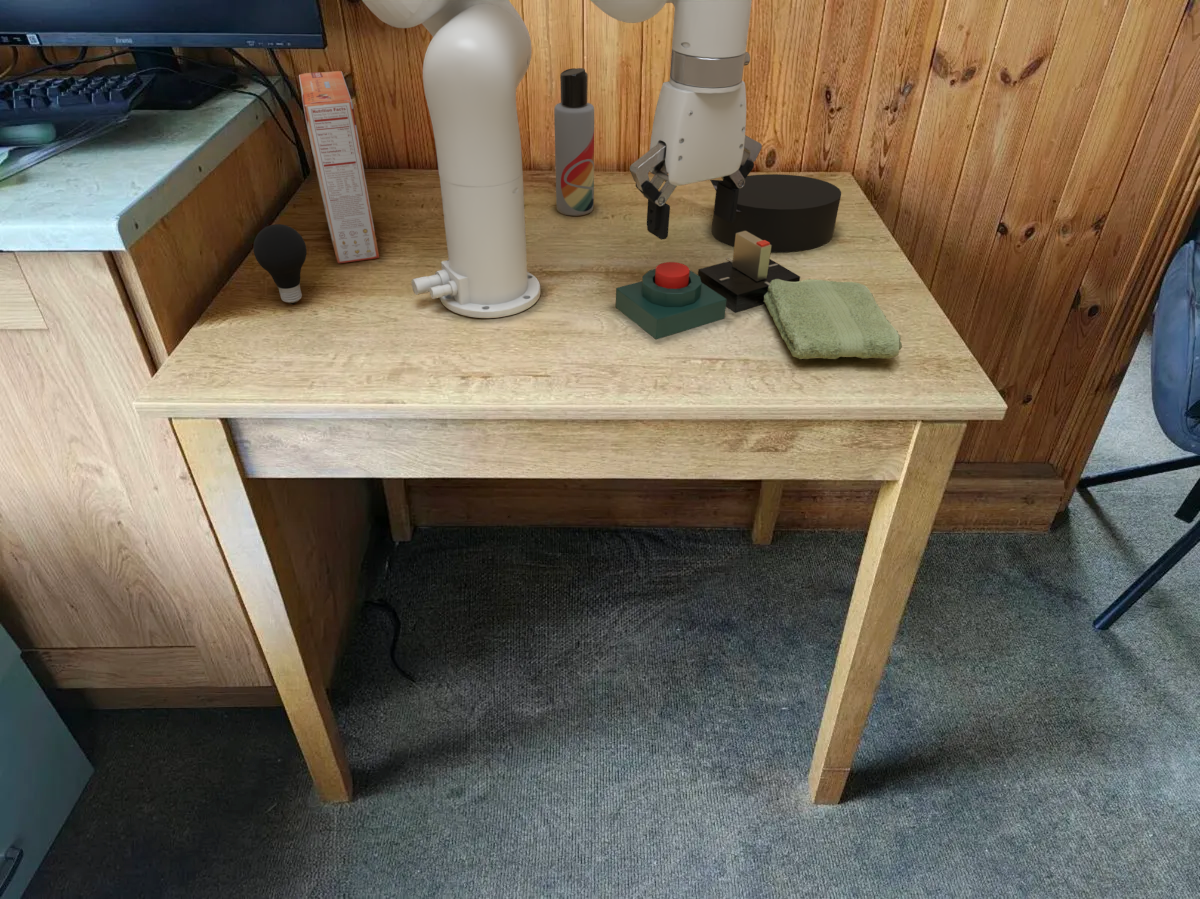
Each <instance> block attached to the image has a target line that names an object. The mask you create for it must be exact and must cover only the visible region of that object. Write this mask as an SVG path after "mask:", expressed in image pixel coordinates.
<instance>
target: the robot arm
mask: <svg viewBox="0 0 1200 899" xmlns="http://www.w3.org/2000/svg"><path fill="white" fill-rule="evenodd" d="M361 1H362V3H363V4H364V5H365V6H366V7H367V8H368V9H369V11H370V12H371V13H372V14H373V15H374V16H376V18H378V19H379V20H380V21H382V23H385V24H386V25H389V26H390V27H393V28H398V29H409V28H414V27H416V26H419V25H422V26H423V27H424V28H425V29H426V31H427V32H428V33H429V34H430V35H431V36H432V38H431V40H430V42H429V44H428V46H427V47H426V51H425V54H424V58H423V64H422V84H423V91H424V97H425V100H426V104H427V108H428V113H429V117H430V122H431V126H432V131H433V132H432V133H433V138H434V146H435V153H436V161H437V170H438V171H437V172H438V176H439V184H440V194H441V203H442V213H443V221H444V231H445V240H446V249H447V259H448V260H442V261H440V264H441V269H440V270H437V271H435V273H434V274H431V275H424V276H420V277H416V278H412V279H411V288H412V291H413V293H414V295H415V296H418V295H422V294H426V293H429V295H430V297H431V299H432V300H436V299H438V298H439V301H440V302H441V304H442V306H444V307H445V308H446V309H448V310H449V311H451V312H453V313H455V314H458V315H460V316H465V317H468V318H476V319H497V318H504V317H509V316H513V315H516V314H519V313H522V312H524V311H526V310H527V309H529V308H531V307H533V306H534V305H535V304H536V303H537V302H538V300H539V299H540V296H541V283H540V280H539V279H538V278H537V277H536V276H535V275H534V274H532V273H530V272H529V271H528V259H527V257H528V256H527V232H526V213H525V212H526V211H525V192H524V191H525V190H524V171H523V154H522V141H521V132H520V131H521V130H520V124H519V118H518V109H517V88H518V86H519V85H520V83H521V82H522V80H523V79H524V76H525V75H526V74H527V72H528V69H529V67H530V64H531V61H532V60H531V59H532V54H533V53H532V51H533V50H532V39H531V36H530V33H529V30H528V28H527V25H526V23H525V22H524V19H523V18H522V17H521V15H520V13H519V12H518V11H517V9H516V8H515V6H514V5H513V4H512V3H511V1H510V0H361ZM590 2H591V3H593V5H595V7H596V8H598V9H599V10H601V12H603V13H604V14H606V15H607V16H609V17H610V18H612V19H615V20H616V21H618V22H623V23H627V24H638V23H642V22H646V21H648V20H651V18H653V17H655V16H656V15H657V14H658V13H659V12H661V10H662V9H663V8H664V6H665V5H666V4H672V5H673V6H674V11H673V12H674V13H673V27H672V41H671V55H670V66H669V68H670V69H669V70H670V71H669V80H668V81H664V82H662V85H661V88H660V91H659V94H658V98H657V102H656V105H655V110H654V116H653V122H652V129H651V135H650V136H651V137H650V143H649V150H648V151H647V152H645V153H644V154H642V156H641V157H639V158H638V159H636V160H635V161H634V162H633V163H632V164H631V165H630V166H629V172H630V175H631V177H632V179H633V182H634V183H635V187H636V189H637V190H638V191H639V192H640V193H641V194H642V195H643V197H644V198H645V199H646V200H647V208H646V209H647V210H646V230H647V232H648V233H650V234H651V235H653V236H655V237H656V238H658V239H659V240H663V241H664V240H666V239H667V238H668V237H669V226H670V216H671V206H670V204H668V203H667V201H668V200H669V199H670V198H671V196H672V194H673V193H674V191H675V190H676V188H677V187H681V186H687V185H691V184H696V183H701V182H706V181H710V180H716V179H719V178H721V180H723V181H718V185H717V191H716V190H715V196H716V200H715V199H714V205H715V209H714V208H713V213H714V214H715V215H716V216H718V217H720V218H722V219H724V220H725V221H727V222H729V223H732V222H735V217H736V210H737V202H738V194H739V188H742V187H743V186H744V184H745V178H746V177H747V176H749V174H750V173H751V172H752V170H753V169H754V166H755V162H756V161H757V158H758V156H759V155H760V153H761V150H762V149H763V148H762V147H763V145H762V143H760V142H759V141H758V140H755V139H753V138H752V137H750V136H748V135H746V131H747V130H746V127H747V90H746V82H745V81H744V80H743V78H744V77H743V76H744V68H745V66H748V65H749V64H750V61H751V55H750V53H749V52H748V51H747V45H748V44H747V43H748V36H749V27H750V20H751V13H752V4H753V0H590ZM649 173H651V174H652V175H653V176H652V178H651V180H650V177H649ZM661 186H662V187H661Z"/></svg>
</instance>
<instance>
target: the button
mask: <svg viewBox="0 0 1200 899" xmlns="http://www.w3.org/2000/svg"><path fill="white" fill-rule="evenodd" d="M655 269H656V271H655V284H656V285H658V286H660V287H664V288H668V289H680V288H683V287H687V286H688V283H689V270H690V267H688V266H687V265H685V264H684V263H681V262H676V261H667V262H662V263H659V264H657V265H656V267H655Z"/></svg>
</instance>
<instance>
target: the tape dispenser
mask: <svg viewBox="0 0 1200 899" xmlns="http://www.w3.org/2000/svg"><path fill="white" fill-rule="evenodd" d="M709 181H710V183H711V184H712V186H713V188H714V190H715V192H716V191H717V185H718V181H723V179H711V180H709ZM841 197H842V191H841V189H840V188H839V187H838V186H837V185H835V184H833V183H831V182H828V181H825V180H822V179H818V178H814V177H809V176H804V175H794V174H782V173H781V174H779V173H778V174H777V173H776V174H775V173H774V174H773V173H772V174H770V173H769V174H768V173H767V174H766V173H765V174H753V175H748V176H747V177H746V178H745V184H744V186H743V187H742V188H739V194H738V202H737V210H736V217H735V222H732V223H729V222H727V221H725V220H724V219H722V218H720V217H718V216H716V215H715V214H714V212H713V214H712V222H711V231H710V232H711V235H712V237H713V238H714V239H715V240H716V241H718V242H720V243H722V244H724V245H726V246H728V247H732V248H734V245H735V237H736V233H739V232H742V231H747V232H749V233H751V234H752V235H754V236H756V237H758V238H760V239H761V240H766V241H768V242H769V243H770V245H771V252H770V253H793V252H795V253H797V252H802V251H808V250H812V249H817V248H820V247H822V246H824V245H826V244H828V243H829V242H831V241H832V239H833V237H834V232H835V228H836V227H835V226H836V221H837V216H838V213H839V209H840V208H839V207H840V202H841V199H842V198H841ZM715 200H716V195H715V197H714V201H715ZM714 209H715V204H714V205H713V210H714Z"/></svg>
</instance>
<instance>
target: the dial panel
mask: <svg viewBox="0 0 1200 899" xmlns="http://www.w3.org/2000/svg"><path fill="white" fill-rule="evenodd" d="M725 260H726V261H724V262H720V263H717V264H712V265H709V266H706V267H702V268H699V269H698V270H697V275H698V276H700V279H701V282H702V283H703V284H705V285H706V286H708V287H709V288H711V289H712V290H714V291H715V292H717V293H718V294H720V295H721V296H723V297H724V298H726V308H727V309H728V310H729V311H731V312H733V313H735V314H738V313H741V312H743V311H746V310H750V309H753V308H756V307H760V306H764V305H766V304H765V302H764V295H765V294H766V293H767V292H768V287H769V286H770V285H771V284H769V283H770V282H771V281H772V280H775V279H780V280H784V281H789V282H798V281H801V276H800V275H798V274H796V273H795V272H793V271H792V270H790V269H788V268H786V267H785V266H783V265H781V264H780V263H778V262H776V261H774V260H773V259H771V258H770V259H769V266H768V273H767V279H764V280H760V281H755V280H754V279H752V278H750V277H749V276H747V275H746V274H744V273H742V272H741V271H739V270H737V269H736V268H734V267H733V266H732V262H733V259H731V258H730V257H726V258H725Z"/></svg>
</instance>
